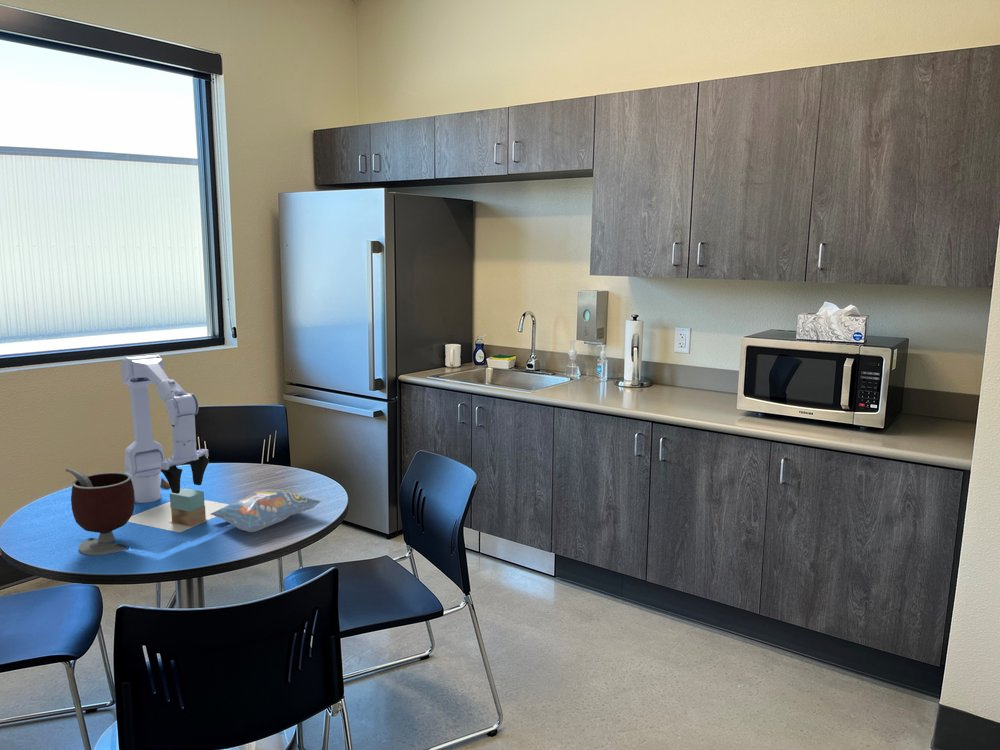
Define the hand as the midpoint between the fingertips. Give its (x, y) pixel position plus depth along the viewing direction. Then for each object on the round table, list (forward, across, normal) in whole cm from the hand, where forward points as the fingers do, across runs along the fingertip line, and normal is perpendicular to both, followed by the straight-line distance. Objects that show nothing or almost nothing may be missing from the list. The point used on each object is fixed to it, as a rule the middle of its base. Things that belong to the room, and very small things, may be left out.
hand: (186, 488), depth 196 cm
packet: (+11, +11, -17) cm, 23 cm away
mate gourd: (+11, -19, +9) cm, 24 cm away
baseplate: (+10, +4, +6) cm, 13 cm away
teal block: (+5, 0, 0) cm, 5 cm away
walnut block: (+9, 0, 0) cm, 9 cm away
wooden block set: (+11, +13, +33) cm, 38 cm away
